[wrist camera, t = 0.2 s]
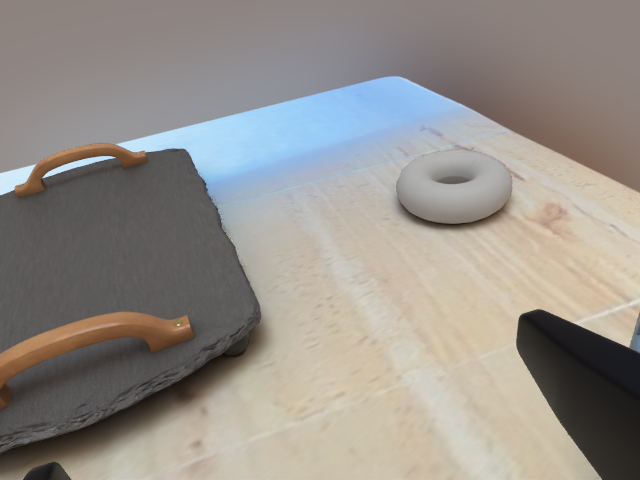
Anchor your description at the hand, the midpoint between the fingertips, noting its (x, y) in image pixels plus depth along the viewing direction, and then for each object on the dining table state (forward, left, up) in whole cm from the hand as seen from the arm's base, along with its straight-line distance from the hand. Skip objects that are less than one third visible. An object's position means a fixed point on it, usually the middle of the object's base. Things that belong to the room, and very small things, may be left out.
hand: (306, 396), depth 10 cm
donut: (+30, -19, -17) cm, 39 cm away
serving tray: (+34, +13, -17) cm, 40 cm away
